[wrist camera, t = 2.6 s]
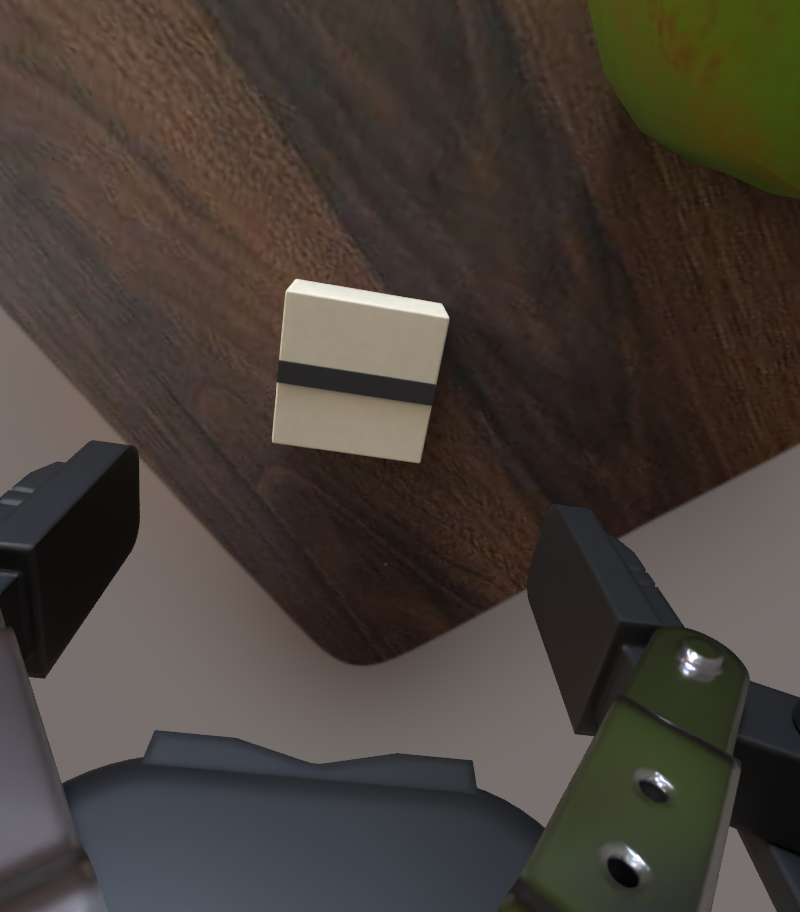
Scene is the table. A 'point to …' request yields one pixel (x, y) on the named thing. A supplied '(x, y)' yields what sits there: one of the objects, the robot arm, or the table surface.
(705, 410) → the table surface
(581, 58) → the table surface
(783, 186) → the apple
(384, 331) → the ivory pad
